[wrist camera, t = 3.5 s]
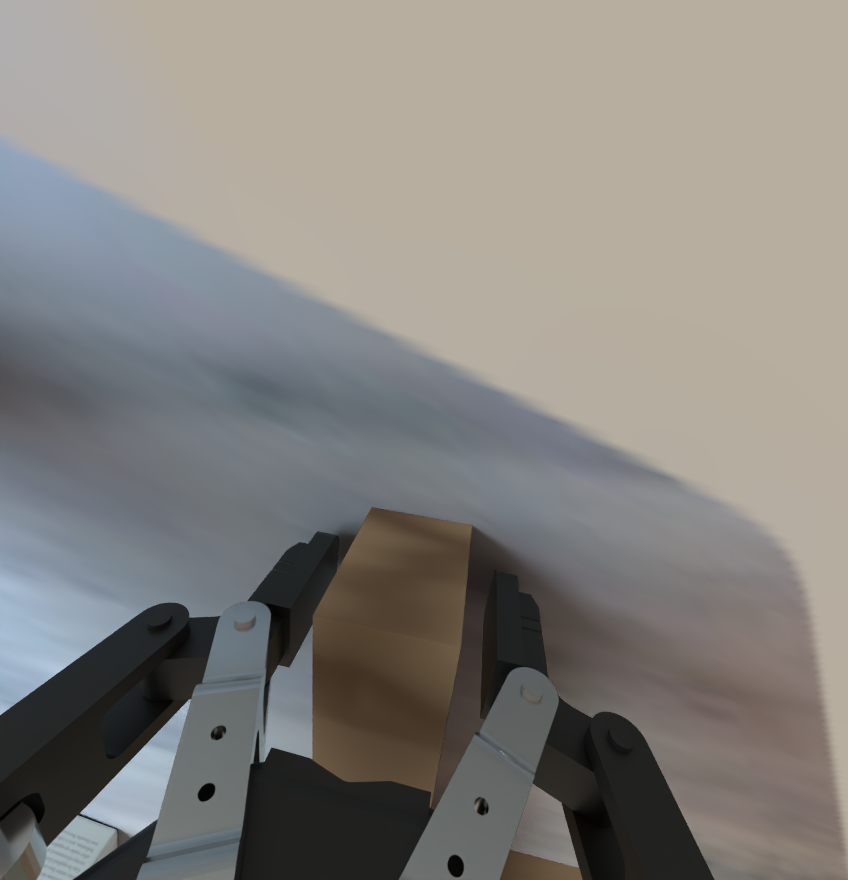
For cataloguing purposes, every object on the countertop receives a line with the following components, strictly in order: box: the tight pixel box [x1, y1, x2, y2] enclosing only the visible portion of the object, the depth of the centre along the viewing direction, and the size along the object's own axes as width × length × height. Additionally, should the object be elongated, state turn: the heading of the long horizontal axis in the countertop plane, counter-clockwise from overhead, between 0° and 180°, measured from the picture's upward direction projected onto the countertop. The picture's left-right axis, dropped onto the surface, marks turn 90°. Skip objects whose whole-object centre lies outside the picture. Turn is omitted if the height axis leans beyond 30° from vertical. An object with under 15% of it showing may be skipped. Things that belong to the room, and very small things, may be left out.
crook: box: [313, 508, 583, 880], centre depth 15 cm, size 14×20×5 cm
